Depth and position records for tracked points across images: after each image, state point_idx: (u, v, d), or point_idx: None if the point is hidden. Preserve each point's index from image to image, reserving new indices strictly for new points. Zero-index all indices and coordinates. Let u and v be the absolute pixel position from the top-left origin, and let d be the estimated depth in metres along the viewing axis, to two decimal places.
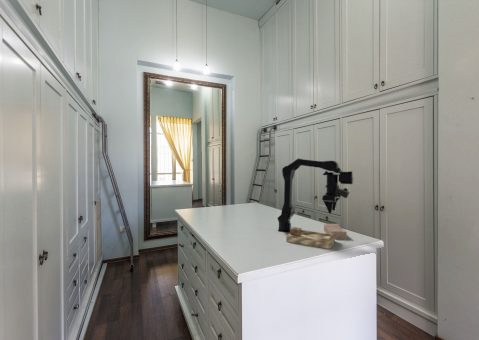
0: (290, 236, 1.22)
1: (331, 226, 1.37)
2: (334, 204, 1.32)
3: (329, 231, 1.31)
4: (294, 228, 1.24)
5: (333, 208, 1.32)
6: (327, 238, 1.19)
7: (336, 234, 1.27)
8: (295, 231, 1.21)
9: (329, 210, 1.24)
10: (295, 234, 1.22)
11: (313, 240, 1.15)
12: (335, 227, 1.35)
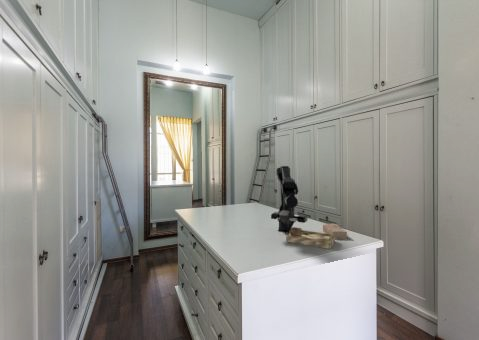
0: (290, 236, 1.22)
1: (330, 226, 1.37)
2: None
3: (329, 231, 1.30)
4: (294, 228, 1.24)
5: None
6: (327, 238, 1.19)
7: (337, 234, 1.27)
8: (295, 231, 1.21)
9: None
10: (295, 234, 1.21)
11: (313, 240, 1.15)
12: (335, 227, 1.35)
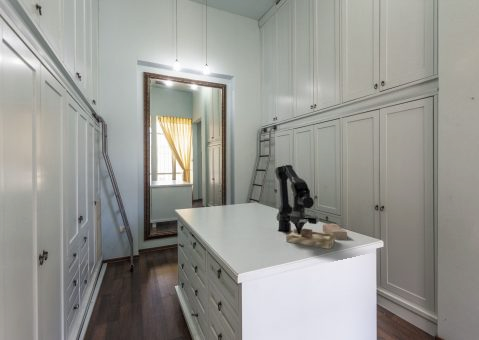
0: (290, 236, 1.22)
1: (330, 226, 1.37)
2: None
3: (329, 231, 1.30)
4: (305, 229, 1.21)
5: None
6: (327, 238, 1.19)
7: (337, 234, 1.26)
8: (306, 233, 1.19)
9: None
10: (306, 236, 1.19)
11: (313, 240, 1.15)
12: (334, 227, 1.35)
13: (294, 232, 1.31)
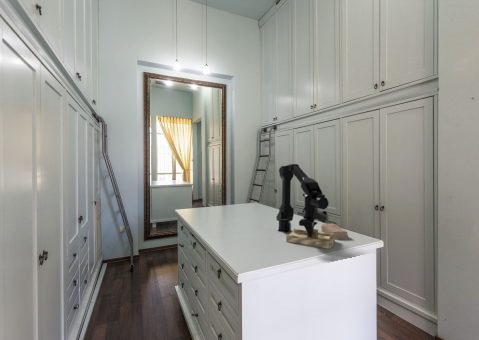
0: (290, 236, 1.22)
1: (330, 226, 1.37)
2: None
3: (330, 231, 1.30)
4: None
5: None
6: (327, 238, 1.19)
7: (338, 234, 1.26)
8: (312, 233, 1.18)
9: (309, 233, 1.17)
10: (312, 236, 1.18)
11: (313, 240, 1.15)
12: (334, 227, 1.35)
13: (294, 232, 1.31)
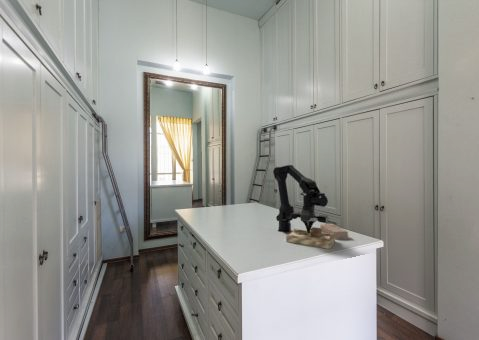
0: (290, 236, 1.22)
1: (329, 226, 1.37)
2: None
3: (330, 232, 1.30)
4: (314, 228, 1.23)
5: None
6: (327, 238, 1.19)
7: (339, 234, 1.26)
8: (316, 231, 1.21)
9: None
10: (316, 234, 1.21)
11: (313, 240, 1.15)
12: (333, 227, 1.35)
13: (294, 232, 1.31)
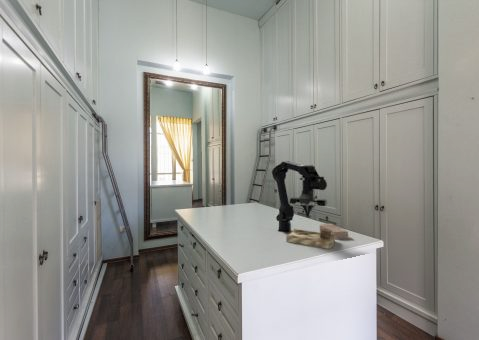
0: (290, 236, 1.22)
1: (329, 226, 1.36)
2: None
3: (331, 232, 1.29)
4: (324, 229, 1.21)
5: None
6: None
7: (339, 234, 1.26)
8: (326, 233, 1.19)
9: None
10: (325, 236, 1.19)
11: (313, 240, 1.15)
12: (333, 227, 1.35)
13: (294, 232, 1.31)
